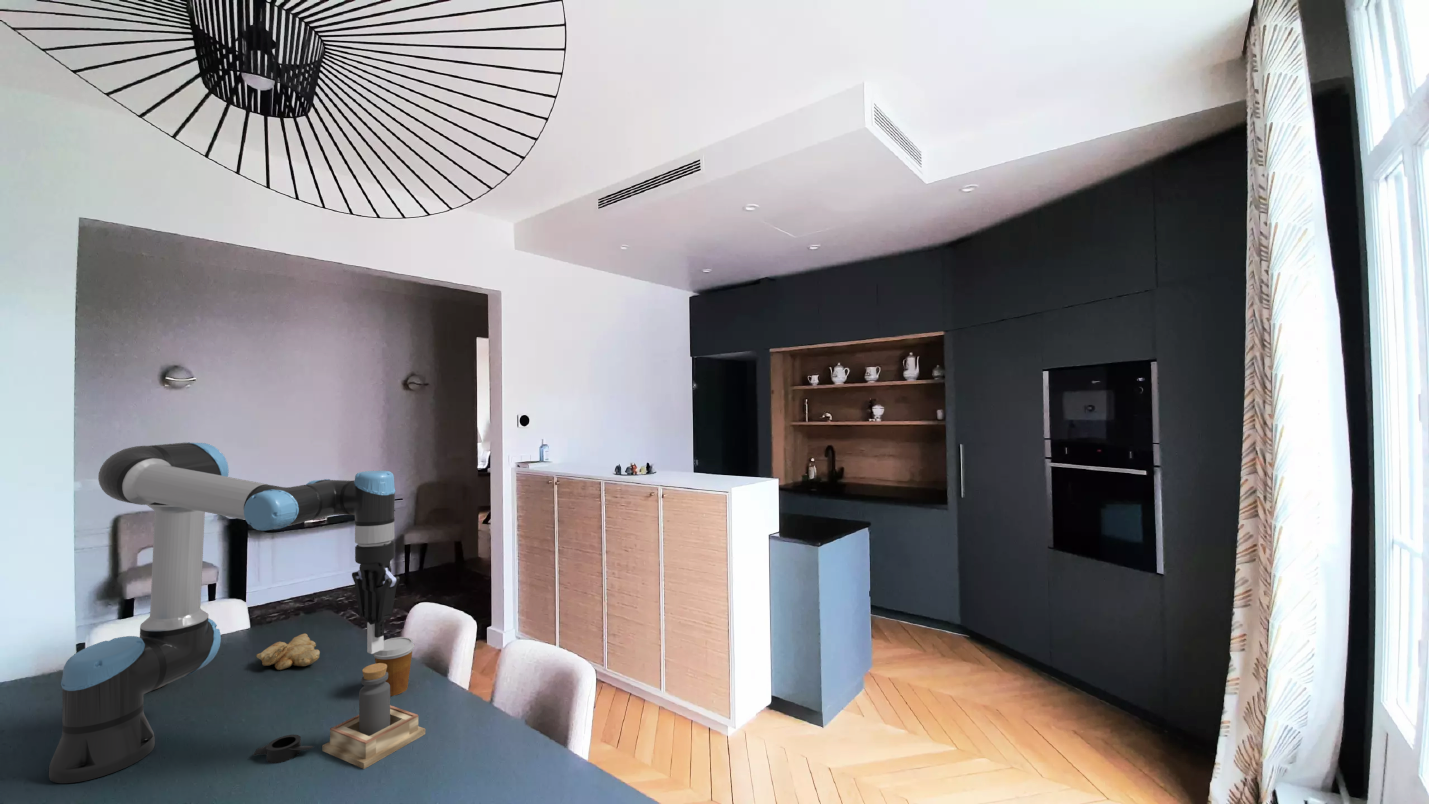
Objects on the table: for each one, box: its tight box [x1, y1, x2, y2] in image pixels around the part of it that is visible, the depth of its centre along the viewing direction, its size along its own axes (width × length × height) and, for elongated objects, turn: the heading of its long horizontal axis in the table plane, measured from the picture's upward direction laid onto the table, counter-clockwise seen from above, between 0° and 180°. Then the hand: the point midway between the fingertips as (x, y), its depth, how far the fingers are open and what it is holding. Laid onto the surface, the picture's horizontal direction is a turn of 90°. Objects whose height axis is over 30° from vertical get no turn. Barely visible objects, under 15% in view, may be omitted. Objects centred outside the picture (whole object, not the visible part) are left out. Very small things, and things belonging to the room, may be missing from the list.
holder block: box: [321, 704, 426, 770], centre depth 128 cm, size 14×14×4 cm
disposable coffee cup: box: [372, 636, 415, 697], centre depth 151 cm, size 10×10×12 cm
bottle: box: [358, 663, 391, 736], centre depth 128 cm, size 6×6×15 cm
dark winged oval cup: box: [252, 734, 315, 765], centre depth 124 cm, size 8×10×3 cm
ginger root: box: [255, 633, 321, 671], centre depth 167 cm, size 16×16×8 cm
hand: (375, 650), depth 128 cm, fingers closed
